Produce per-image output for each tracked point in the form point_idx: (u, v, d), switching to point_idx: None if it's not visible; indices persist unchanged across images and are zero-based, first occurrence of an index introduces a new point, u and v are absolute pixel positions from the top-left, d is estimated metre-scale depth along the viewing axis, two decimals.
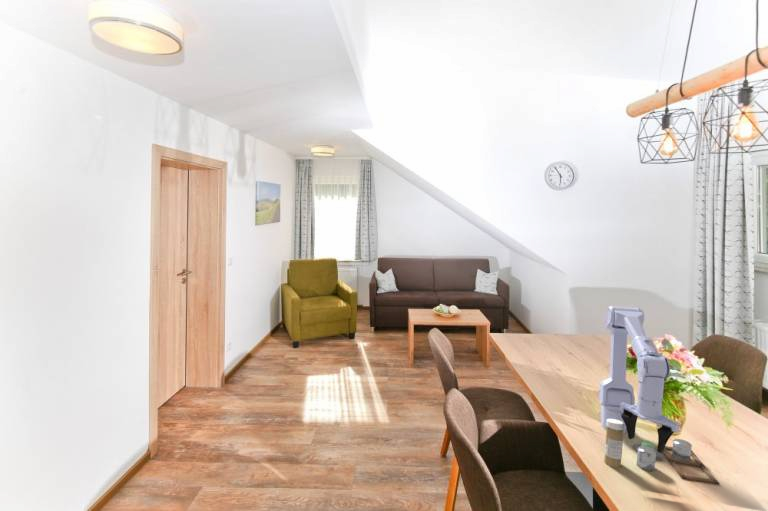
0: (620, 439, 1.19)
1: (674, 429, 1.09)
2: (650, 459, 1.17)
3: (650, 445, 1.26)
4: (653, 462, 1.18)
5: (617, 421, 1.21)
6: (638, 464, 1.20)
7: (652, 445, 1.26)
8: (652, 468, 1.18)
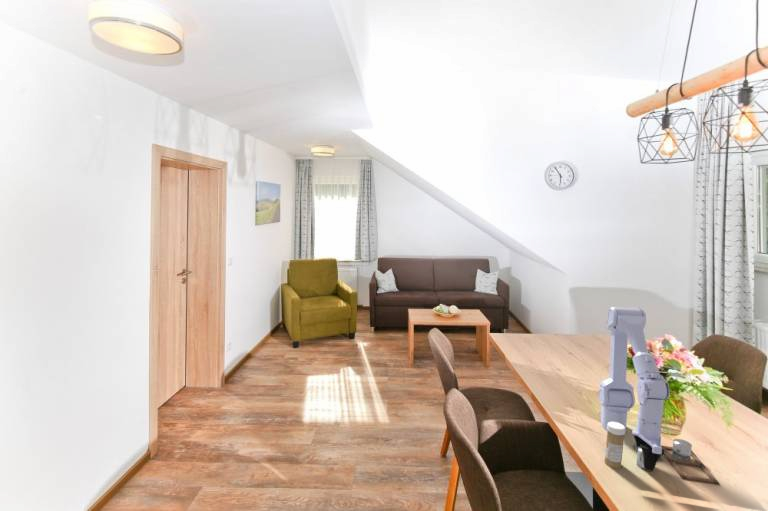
0: (621, 443, 1.18)
1: (653, 450, 1.13)
2: None
3: None
4: None
5: (618, 425, 1.19)
6: (638, 464, 1.20)
7: None
8: None
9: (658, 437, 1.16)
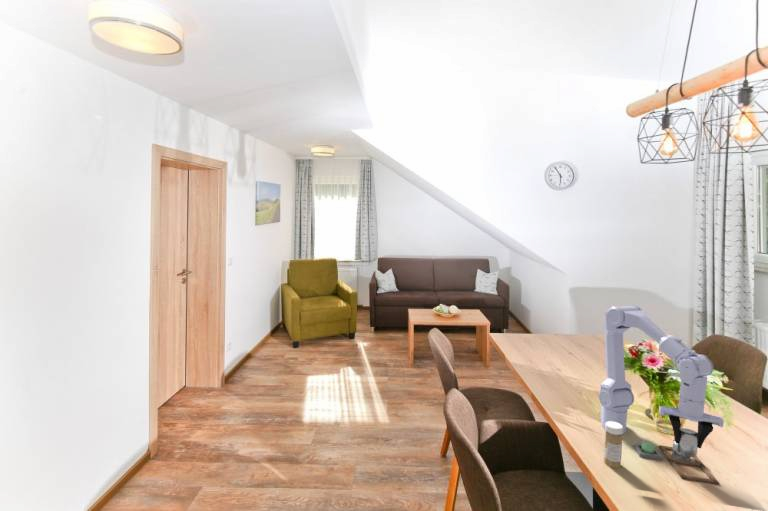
0: (619, 443, 1.18)
1: (721, 424, 1.13)
2: None
3: (650, 445, 1.26)
4: None
5: (616, 425, 1.19)
6: (691, 451, 1.15)
7: (652, 445, 1.26)
8: None
9: None
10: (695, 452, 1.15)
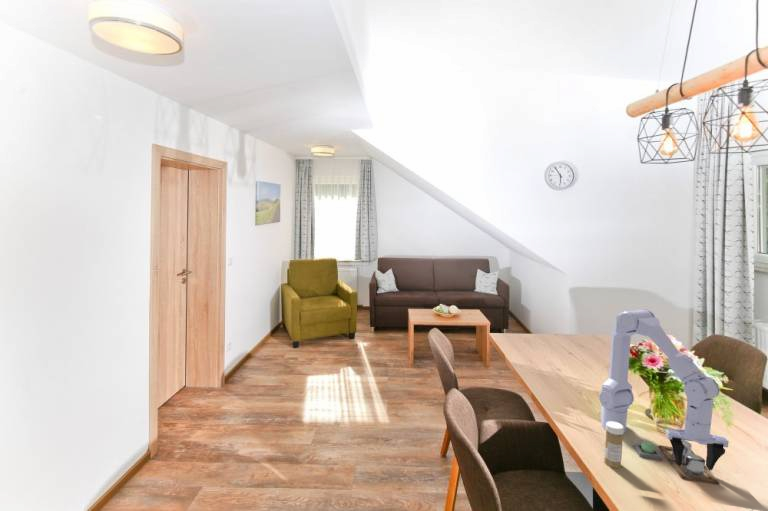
0: (620, 443, 1.18)
1: (726, 444, 1.14)
2: None
3: (650, 445, 1.26)
4: None
5: (617, 425, 1.20)
6: (699, 477, 1.15)
7: (652, 445, 1.26)
8: None
9: None
10: None
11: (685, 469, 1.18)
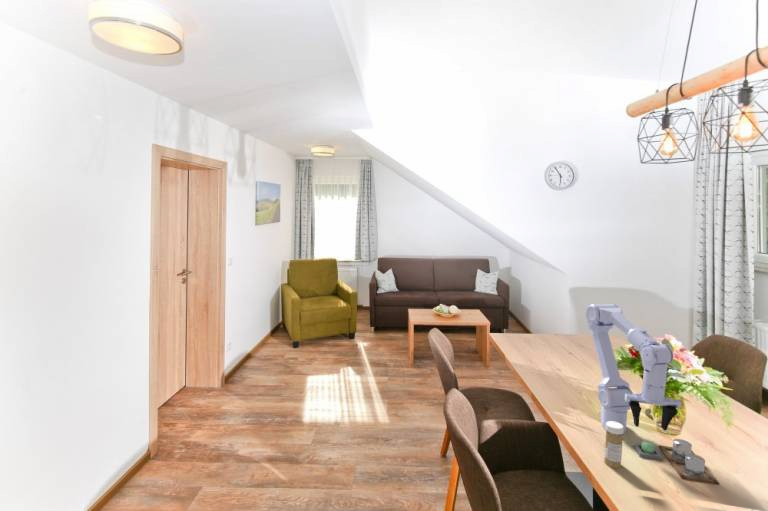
0: (620, 442, 1.18)
1: (679, 406, 1.23)
2: None
3: (650, 445, 1.26)
4: None
5: (616, 424, 1.20)
6: (699, 477, 1.15)
7: (652, 445, 1.26)
8: None
9: None
10: None
11: (685, 469, 1.18)
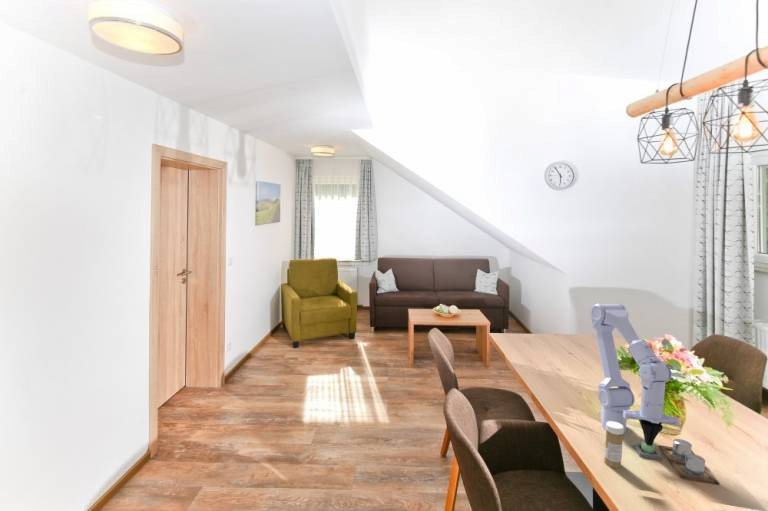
0: (620, 443, 1.18)
1: (677, 423, 1.23)
2: None
3: None
4: None
5: (617, 424, 1.20)
6: (699, 477, 1.15)
7: (652, 445, 1.26)
8: None
9: None
10: None
11: (685, 469, 1.18)
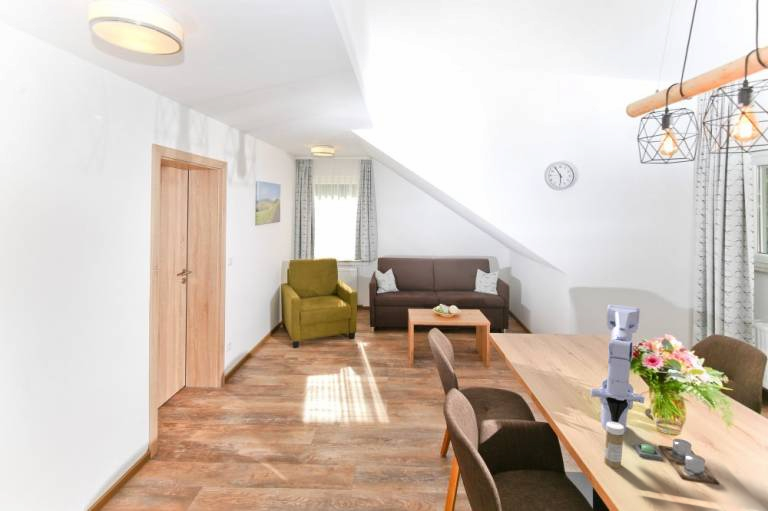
0: (620, 443, 1.18)
1: (642, 401, 1.24)
2: None
3: (650, 448, 1.26)
4: None
5: (617, 425, 1.19)
6: (699, 477, 1.15)
7: (652, 448, 1.26)
8: None
9: None
10: None
11: (685, 469, 1.18)
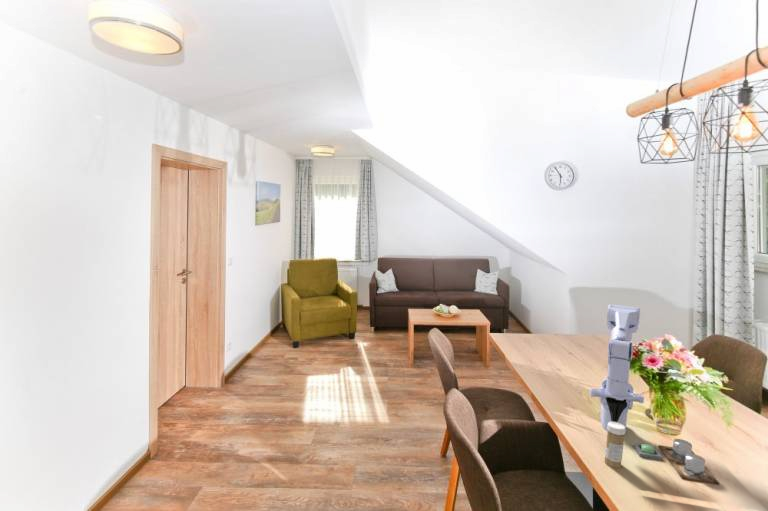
0: (621, 443, 1.18)
1: (642, 401, 1.24)
2: None
3: (650, 448, 1.26)
4: None
5: (618, 425, 1.19)
6: None
7: (652, 448, 1.26)
8: None
9: None
10: None
11: (685, 469, 1.18)
